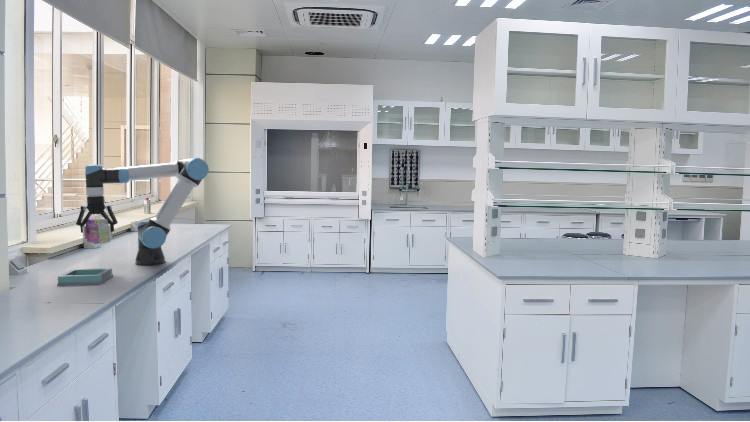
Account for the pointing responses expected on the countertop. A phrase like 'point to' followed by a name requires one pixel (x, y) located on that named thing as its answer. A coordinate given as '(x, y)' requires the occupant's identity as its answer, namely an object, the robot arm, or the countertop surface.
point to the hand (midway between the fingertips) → (98, 238)
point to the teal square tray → (85, 277)
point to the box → (97, 230)
